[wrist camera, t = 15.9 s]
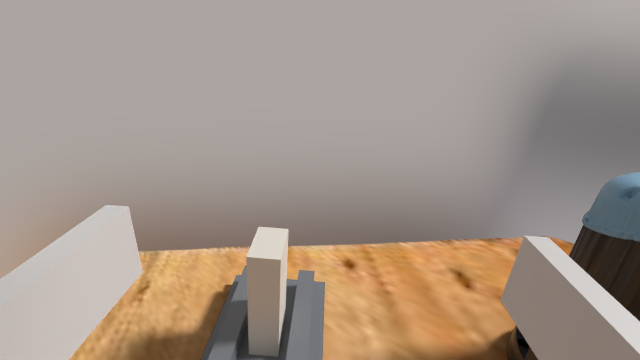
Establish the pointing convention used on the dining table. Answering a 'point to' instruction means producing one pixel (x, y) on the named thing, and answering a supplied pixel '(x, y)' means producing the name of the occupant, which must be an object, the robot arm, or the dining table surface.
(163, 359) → the dining table surface
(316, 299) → the rack
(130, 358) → the dining table surface
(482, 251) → the dining table surface
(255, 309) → the white rectangular block
